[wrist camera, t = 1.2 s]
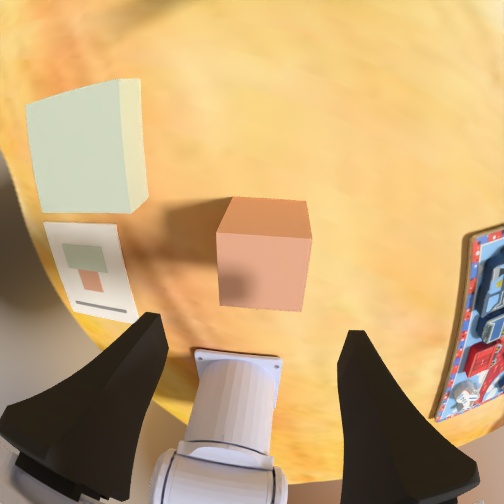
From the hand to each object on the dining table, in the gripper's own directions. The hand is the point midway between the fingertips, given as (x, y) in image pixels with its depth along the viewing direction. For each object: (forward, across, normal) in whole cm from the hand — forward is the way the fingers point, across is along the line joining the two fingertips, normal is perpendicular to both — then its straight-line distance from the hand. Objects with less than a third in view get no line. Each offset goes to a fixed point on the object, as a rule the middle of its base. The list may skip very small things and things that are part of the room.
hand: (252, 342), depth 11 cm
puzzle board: (+10, -31, +9) cm, 34 cm away
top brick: (+10, 0, 0) cm, 10 cm away
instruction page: (+10, +15, +5) cm, 19 cm away
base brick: (+10, +12, -6) cm, 17 cm away
